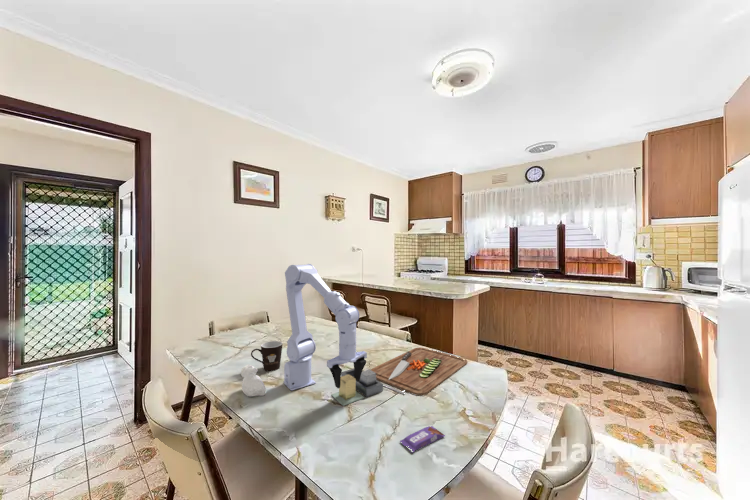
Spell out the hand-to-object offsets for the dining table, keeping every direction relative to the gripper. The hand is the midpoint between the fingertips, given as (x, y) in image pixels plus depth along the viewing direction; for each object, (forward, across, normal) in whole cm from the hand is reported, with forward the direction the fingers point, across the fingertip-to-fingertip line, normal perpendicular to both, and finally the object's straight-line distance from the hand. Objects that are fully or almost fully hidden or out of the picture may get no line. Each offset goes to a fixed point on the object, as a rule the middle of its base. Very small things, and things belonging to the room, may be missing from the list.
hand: (347, 383), depth 94 cm
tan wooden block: (+4, 0, 0) cm, 4 cm away
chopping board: (+5, +36, +2) cm, 37 cm away
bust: (+5, -25, +21) cm, 33 cm away
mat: (+4, 0, 0) cm, 4 cm away
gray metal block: (+4, +8, 0) cm, 10 cm away
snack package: (+5, +4, -30) cm, 31 cm away
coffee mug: (+5, -14, +40) cm, 43 cm away
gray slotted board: (+4, +8, +4) cm, 11 cm away
